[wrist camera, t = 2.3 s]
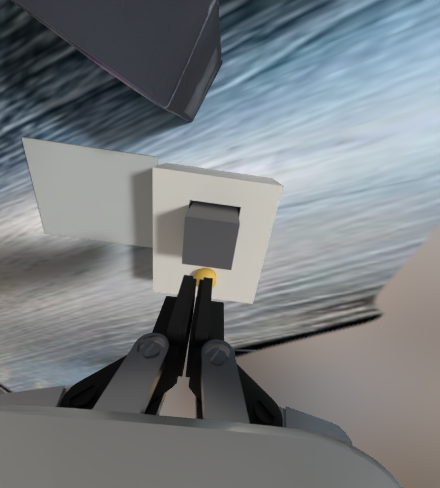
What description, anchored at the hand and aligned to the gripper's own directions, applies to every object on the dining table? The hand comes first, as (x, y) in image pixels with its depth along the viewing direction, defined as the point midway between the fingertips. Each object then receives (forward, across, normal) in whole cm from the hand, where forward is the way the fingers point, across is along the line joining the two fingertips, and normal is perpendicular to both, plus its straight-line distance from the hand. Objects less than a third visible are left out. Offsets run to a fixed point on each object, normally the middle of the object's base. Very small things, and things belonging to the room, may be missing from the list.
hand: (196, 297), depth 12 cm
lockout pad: (+15, +14, -1) cm, 20 cm away
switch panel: (+15, 0, +1) cm, 15 cm away
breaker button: (+12, 0, -1) cm, 12 cm away
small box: (+15, +7, -15) cm, 22 cm away
